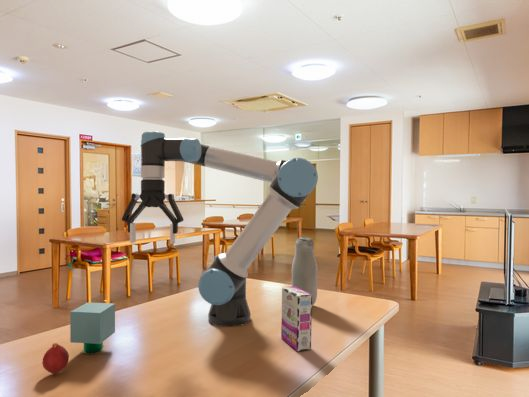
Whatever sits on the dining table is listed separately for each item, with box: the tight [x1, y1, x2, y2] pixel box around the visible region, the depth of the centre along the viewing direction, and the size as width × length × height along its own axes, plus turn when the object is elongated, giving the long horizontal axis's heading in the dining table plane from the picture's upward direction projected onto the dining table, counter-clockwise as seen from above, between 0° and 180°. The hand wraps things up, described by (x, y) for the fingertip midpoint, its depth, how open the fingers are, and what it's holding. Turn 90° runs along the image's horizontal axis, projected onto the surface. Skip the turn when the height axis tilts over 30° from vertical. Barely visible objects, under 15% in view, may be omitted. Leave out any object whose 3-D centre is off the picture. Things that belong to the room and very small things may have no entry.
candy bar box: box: [280, 286, 313, 353], centre depth 117 cm, size 11×5×16 cm, turn 23°
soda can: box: [83, 341, 104, 355], centre depth 110 cm, size 5×5×12 cm
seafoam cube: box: [69, 302, 116, 344], centre depth 110 cm, size 9×9×9 cm
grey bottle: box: [291, 236, 319, 306], centre depth 154 cm, size 10×10×28 cm
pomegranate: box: [41, 342, 70, 376], centre depth 96 cm, size 6×6×8 cm
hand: (152, 243), depth 127 cm, fingers open, 13 cm apart
